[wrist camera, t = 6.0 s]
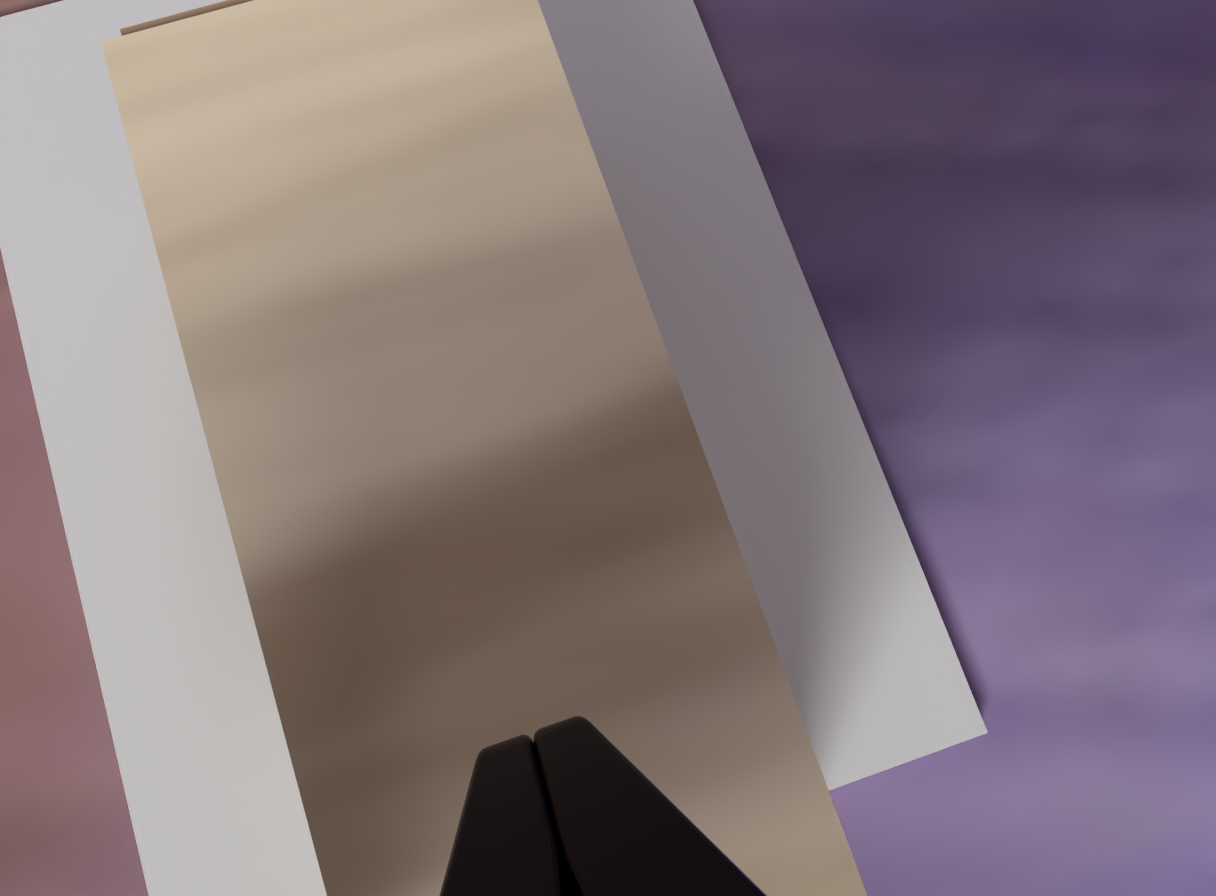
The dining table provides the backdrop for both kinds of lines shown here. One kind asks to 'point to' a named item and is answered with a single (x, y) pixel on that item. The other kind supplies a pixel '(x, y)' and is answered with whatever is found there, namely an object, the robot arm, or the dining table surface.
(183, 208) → the block
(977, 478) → the dining table surface
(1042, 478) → the dining table surface
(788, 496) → the mat
